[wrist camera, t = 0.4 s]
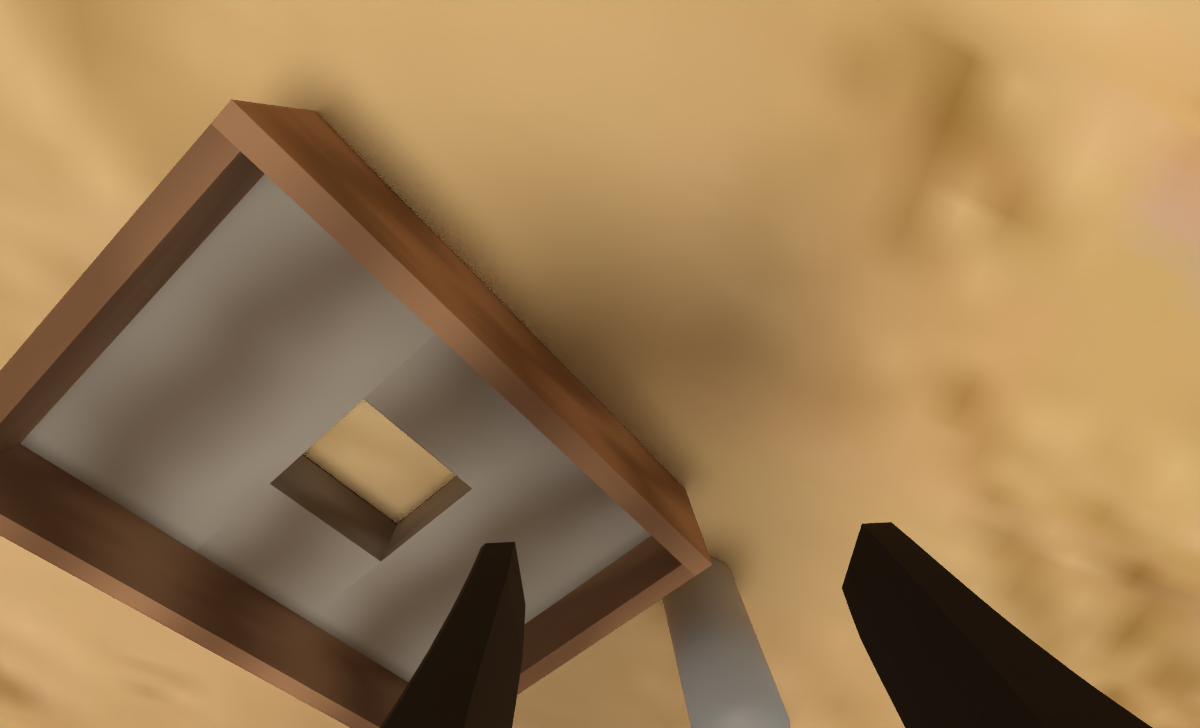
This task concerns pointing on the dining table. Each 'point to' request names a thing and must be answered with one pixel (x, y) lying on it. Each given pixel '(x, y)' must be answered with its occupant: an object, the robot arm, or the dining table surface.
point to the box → (318, 431)
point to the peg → (721, 655)
